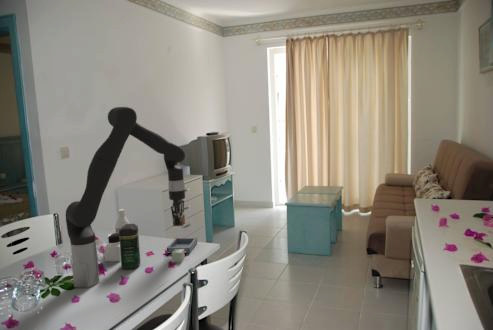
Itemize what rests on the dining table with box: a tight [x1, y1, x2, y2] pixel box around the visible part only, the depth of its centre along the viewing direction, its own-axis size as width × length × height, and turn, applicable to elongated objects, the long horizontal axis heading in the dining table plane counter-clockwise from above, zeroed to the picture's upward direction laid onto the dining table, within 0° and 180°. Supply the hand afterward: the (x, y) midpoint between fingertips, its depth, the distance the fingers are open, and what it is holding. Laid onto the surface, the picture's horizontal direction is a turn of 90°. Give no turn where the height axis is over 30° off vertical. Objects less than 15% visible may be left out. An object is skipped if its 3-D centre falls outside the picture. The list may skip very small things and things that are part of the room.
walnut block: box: [172, 213, 186, 227], centre depth 191 cm, size 4×4×4 cm
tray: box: [166, 237, 198, 255], centre depth 196 cm, size 15×11×3 cm
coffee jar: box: [119, 223, 141, 270], centre depth 176 cm, size 10×8×19 cm
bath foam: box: [115, 208, 131, 233], centre depth 199 cm, size 7×7×20 cm
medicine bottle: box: [103, 232, 121, 263], centre depth 185 cm, size 7×7×12 cm
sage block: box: [171, 249, 186, 263], centre depth 181 cm, size 4×4×4 cm
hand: (179, 223), depth 192 cm, fingers closed on walnut block, 4 cm apart
